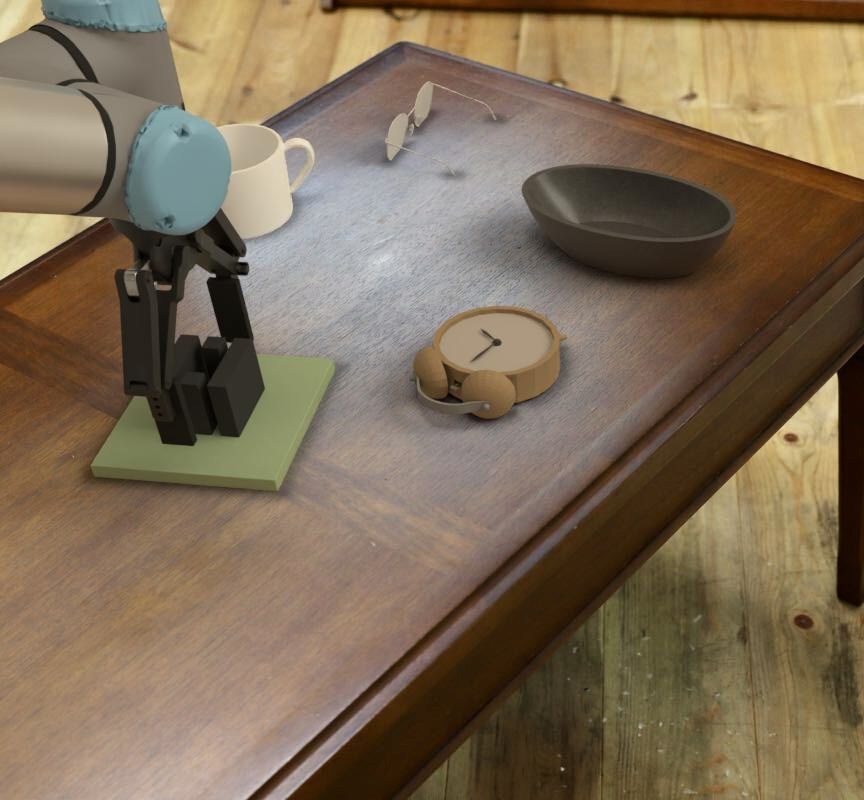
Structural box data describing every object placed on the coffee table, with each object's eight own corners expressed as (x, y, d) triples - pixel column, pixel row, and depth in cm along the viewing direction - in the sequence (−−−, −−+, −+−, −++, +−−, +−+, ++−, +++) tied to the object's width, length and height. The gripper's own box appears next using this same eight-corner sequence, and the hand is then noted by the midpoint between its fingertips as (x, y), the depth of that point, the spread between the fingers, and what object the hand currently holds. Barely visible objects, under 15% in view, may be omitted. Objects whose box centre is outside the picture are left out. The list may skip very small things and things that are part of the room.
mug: (196, 250, 141) (177, 181, 135) (195, 198, 148) (177, 131, 143) (328, 230, 143) (314, 161, 137) (320, 179, 151) (307, 113, 145)
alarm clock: (586, 327, 123) (486, 397, 112) (583, 375, 126) (485, 447, 115) (484, 292, 128) (379, 354, 117) (484, 338, 131) (381, 404, 119)
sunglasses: (431, 111, 161) (433, 73, 158) (498, 129, 160) (501, 92, 157) (382, 170, 151) (383, 131, 148) (454, 191, 150) (456, 152, 147)
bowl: (556, 203, 145) (552, 151, 141) (754, 246, 137) (756, 192, 133) (502, 264, 137) (497, 210, 133) (709, 313, 129) (710, 258, 125)
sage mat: (94, 478, 115) (83, 449, 113) (169, 360, 127) (160, 331, 125) (278, 493, 112) (270, 463, 110) (336, 371, 124) (330, 342, 122)
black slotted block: (166, 432, 117) (150, 381, 113) (195, 383, 121) (180, 334, 118) (239, 437, 116) (225, 387, 112) (265, 388, 121) (252, 338, 117)
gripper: (127, 267, 94) (197, 493, 107) (253, 94, 112) (298, 305, 126) (24, 261, 95) (107, 486, 108) (166, 91, 113) (221, 300, 127)
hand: (210, 389), depth 117 cm, fingers open, 13 cm apart
